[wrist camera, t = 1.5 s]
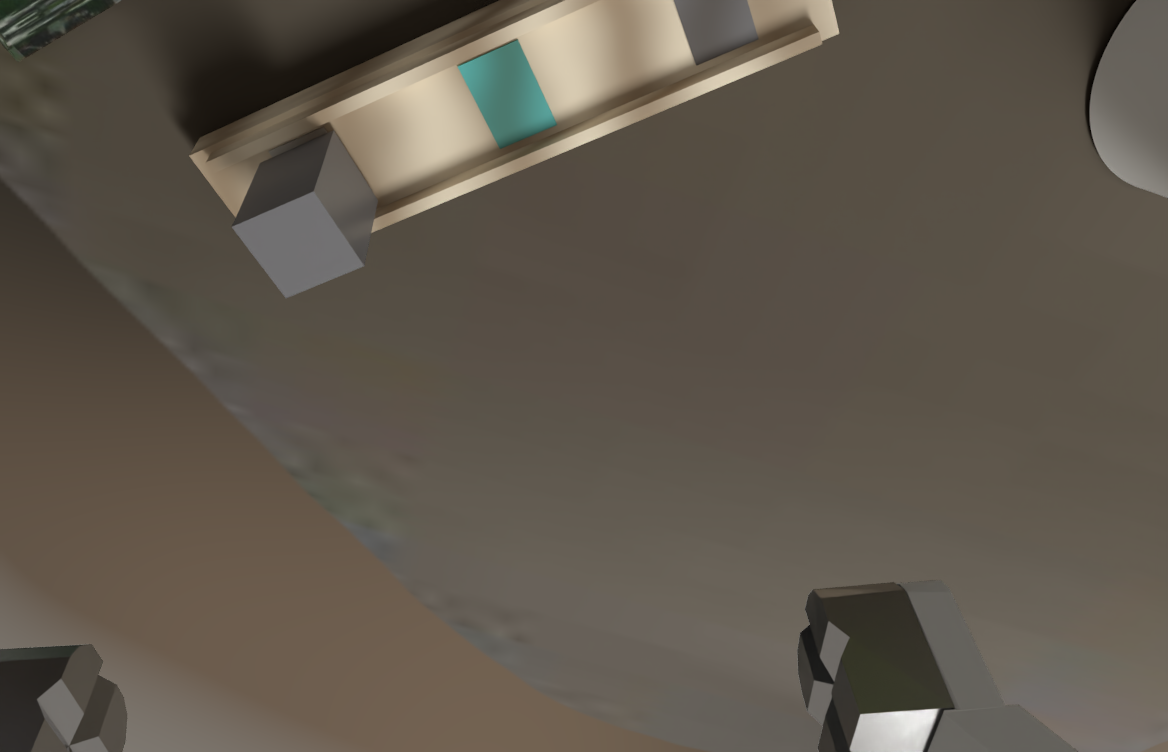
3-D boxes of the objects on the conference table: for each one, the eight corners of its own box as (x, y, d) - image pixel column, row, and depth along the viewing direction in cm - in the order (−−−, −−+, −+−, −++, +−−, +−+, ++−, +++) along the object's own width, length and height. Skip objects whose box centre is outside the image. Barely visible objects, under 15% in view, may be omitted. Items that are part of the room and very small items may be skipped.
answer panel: (790, -134, 40) (808, -119, 38) (827, 19, 44) (845, 41, 42) (199, 137, 46) (183, 165, 44) (281, 249, 50) (271, 280, 48)
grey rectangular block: (333, 130, 44) (313, 191, 39) (378, 200, 46) (364, 265, 41) (259, 162, 44) (231, 226, 40) (307, 230, 47) (285, 298, 42)
